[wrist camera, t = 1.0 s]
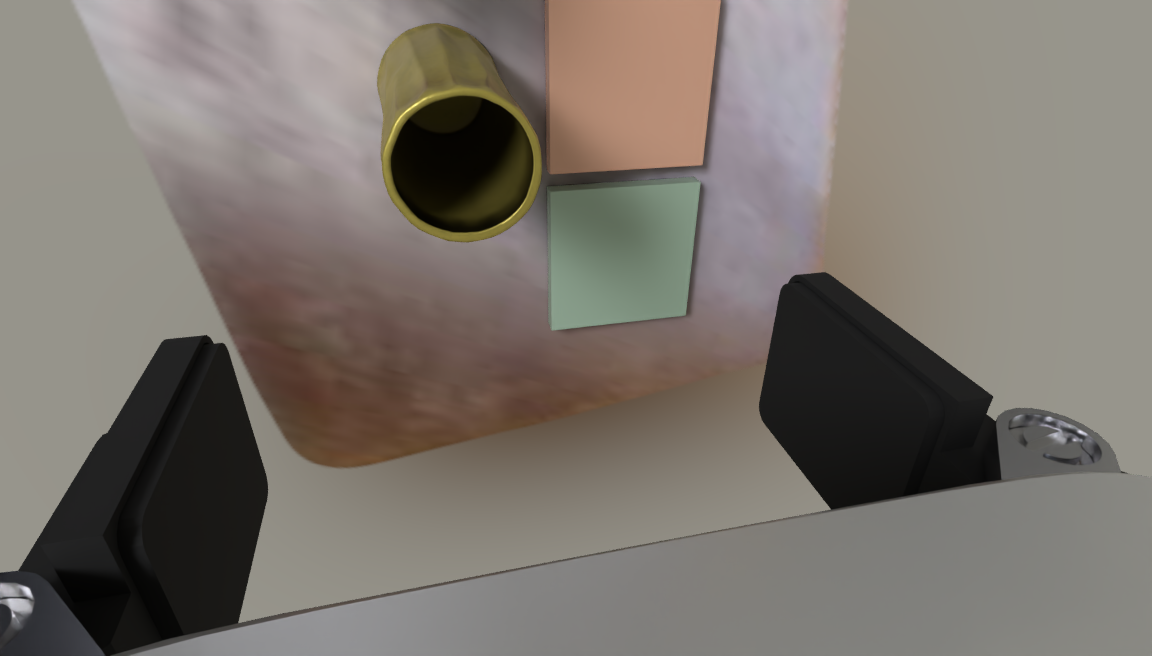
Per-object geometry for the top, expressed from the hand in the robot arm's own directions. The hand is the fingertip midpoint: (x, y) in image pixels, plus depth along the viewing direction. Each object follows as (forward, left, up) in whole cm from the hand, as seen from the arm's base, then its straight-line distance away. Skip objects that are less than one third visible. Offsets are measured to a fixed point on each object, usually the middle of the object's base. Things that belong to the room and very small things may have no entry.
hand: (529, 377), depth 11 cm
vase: (0, 0, -27) cm, 27 cm away
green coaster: (+10, +10, -26) cm, 30 cm away
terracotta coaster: (0, +10, -26) cm, 28 cm away
